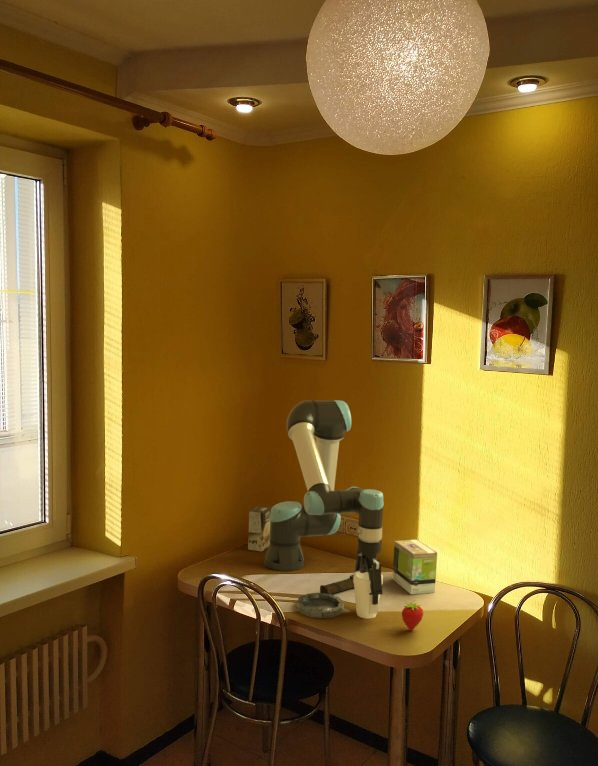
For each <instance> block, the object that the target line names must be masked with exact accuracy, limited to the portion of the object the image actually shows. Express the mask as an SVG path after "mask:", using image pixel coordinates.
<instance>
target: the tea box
mask: <svg viewBox="0 0 598 766" xmlns="http://www.w3.org/2000/svg"><path fill="white" fill-rule="evenodd" d="M437 560H438V552H437V551H436V550H435V549H433V548H431V547H430V546H429V545H427V544H425V543H424V542H423V541H421V540H419V539H407V540H394V544H393V565H392V580H393V581H395V583H396V584H398V585H399V586H400V587H401V588H403V589H404V590H405V591H406V592H407V593H408V594H410V595H422V594H431V593H435V592H436V582H437V581H436V579H437V578H436V577H437V564H438V561H437Z"/></svg>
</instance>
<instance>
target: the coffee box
mask: <svg viewBox="0 0 598 766" xmlns="http://www.w3.org/2000/svg"><path fill="white" fill-rule="evenodd" d="M271 509H272V506H271V507H270V506H263V505H257V506H255V507H254V508H251V509H250V510H249V512H248V536H247V537H248V543H247V544H248V545H247V550H250V551H257V552H263V551H264V550H266V549H268V547H269V544H270V514H271Z"/></svg>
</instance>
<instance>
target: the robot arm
mask: <svg viewBox="0 0 598 766" xmlns="http://www.w3.org/2000/svg"><path fill="white" fill-rule="evenodd" d="M351 428H352V415H351V411H350V408H349V405H348V403H347V402H345V401H344V400H339V399H337V400H335V399H320V400H319V399H318V400H317V399H315V400H309V399H308V400H303V401H300V402H298V403H297V404H296V405H295V406H294V407H292V409H291V411H290V412H289V414H288V416H287V419H286V432H287V435H288V438H289V439H290V440H292V442H293V443H292V444H293V446H294V450H295V451H296V456H297V460H298V462H299V466H300V469H301V472H302V473H301V474H302V477H303V480H304V482H305V487H306V490H307V492H306V493H305V494H304V496H303V505H302V504H301V503H300V502H299V501H295V500H294V501H291V500H290V501H287V500H286V501H283V502H282V501H281V502H279V503H277V504H274V505H273V506H271V514H270V544H269V546H268V547H267V551H266V553H265V555H264V565H265V567H266V568H268V569H271V570H274V571H280V572H281V571H282V572H283V571H285V572H290V571H296V570H299V569H301V568H303V567H304V565H305V558H304V554H303V550H302V546H301V538H304V537H317V536H318V537H319V536H323V537H324V536H329V535H335V533H337V531H338V530H339V528H340V525H341V521H342V519H341V518H342V517H341V514H354V513H355V514H357V515H358V529H357V530H356V532H357V533H358V539H357V553H356V560H355V567H354V573H355V572H356V571H360V573H365V572H368V574H369V580H370V588H371V593H369V595H370V599H369V614H375V613H377V614H379V603H378V596H379V594H380V595H383V583H382V578H381V574H382V562H381V561H378V554H380V553H381V552H382V544H383V543H382V538H383V520H384V519H383V518H384V517H383V516H384V493H383V492H382V491H380V490H376V489H372V488H371V489H366V488H365V489H363V488H361V487H357V486H351V487H350V486H349V488H347V489H340V490H338V489H337V490H335V485H336V484H335V483H336V475H337V467H338V457H339V450H340V449H339V447H340V441H342V440H343V439H344V438H345V433H347V432H350V430H351Z"/></svg>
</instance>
